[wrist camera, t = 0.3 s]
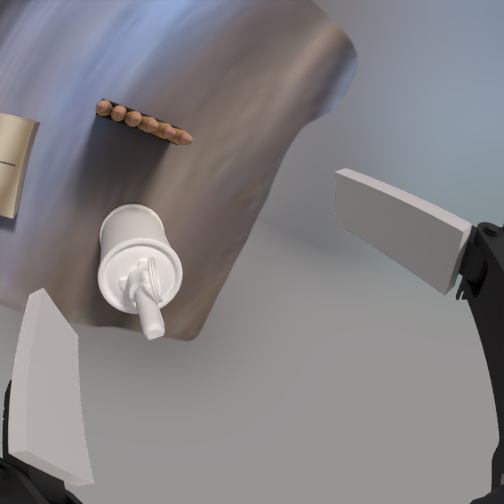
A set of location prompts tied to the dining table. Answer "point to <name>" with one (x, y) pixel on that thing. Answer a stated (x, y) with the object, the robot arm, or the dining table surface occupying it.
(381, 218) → the robot arm
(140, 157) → the dining table surface
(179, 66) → the dining table surface
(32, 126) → the board
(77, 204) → the dining table surface
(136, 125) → the ammunition clip
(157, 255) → the white smoke grenade
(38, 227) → the dining table surface
